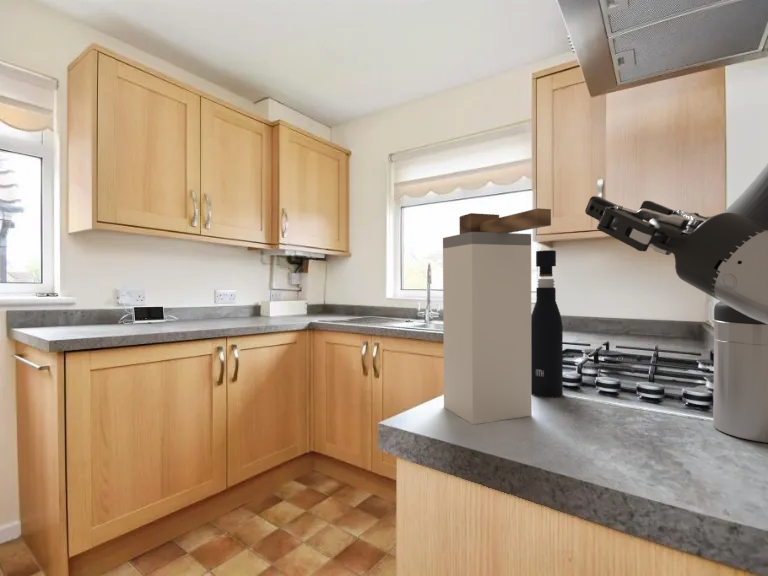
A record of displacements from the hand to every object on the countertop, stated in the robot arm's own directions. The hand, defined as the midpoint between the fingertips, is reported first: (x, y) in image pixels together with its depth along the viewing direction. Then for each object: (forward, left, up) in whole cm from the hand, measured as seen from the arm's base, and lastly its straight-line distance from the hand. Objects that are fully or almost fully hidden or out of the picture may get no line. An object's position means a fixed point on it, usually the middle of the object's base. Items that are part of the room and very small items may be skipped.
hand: (616, 206), depth 50 cm
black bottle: (-27, -22, -33) cm, 48 cm away
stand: (-8, -24, -33) cm, 42 cm away
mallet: (-6, -19, -1) cm, 20 cm away
